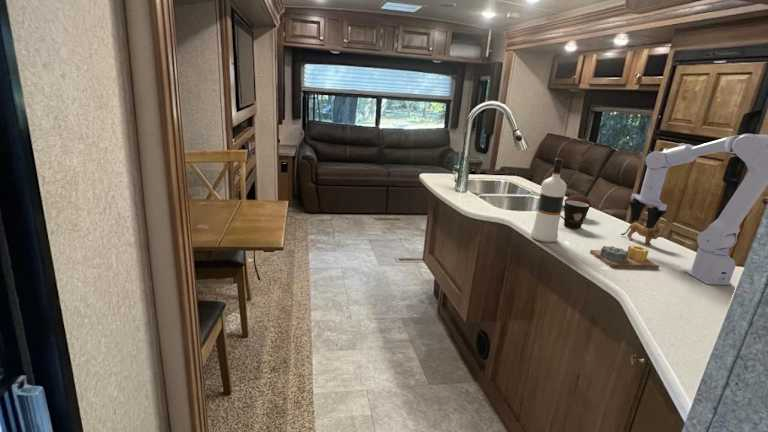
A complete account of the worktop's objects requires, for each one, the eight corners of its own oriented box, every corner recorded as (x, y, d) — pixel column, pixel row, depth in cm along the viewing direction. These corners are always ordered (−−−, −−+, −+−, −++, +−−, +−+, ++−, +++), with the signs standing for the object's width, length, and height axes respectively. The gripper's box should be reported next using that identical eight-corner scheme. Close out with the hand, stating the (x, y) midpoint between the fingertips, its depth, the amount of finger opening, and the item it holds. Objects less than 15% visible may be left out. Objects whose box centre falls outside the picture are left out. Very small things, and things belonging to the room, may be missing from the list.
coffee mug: (584, 226, 169) (589, 203, 166) (581, 231, 162) (587, 207, 159) (555, 220, 175) (560, 198, 172) (551, 225, 168) (556, 202, 165)
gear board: (658, 269, 129) (661, 257, 128) (611, 267, 127) (614, 255, 126) (633, 254, 141) (636, 243, 139) (589, 253, 139) (592, 241, 138)
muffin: (581, 222, 175) (586, 200, 172) (556, 215, 183) (561, 194, 180) (592, 218, 183) (597, 196, 180) (568, 211, 191) (572, 191, 188)
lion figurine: (663, 247, 150) (670, 224, 148) (657, 249, 147) (664, 226, 145) (623, 235, 162) (629, 213, 159) (616, 236, 159) (622, 215, 156)
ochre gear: (649, 260, 133) (652, 250, 132) (639, 262, 130) (642, 252, 129) (632, 253, 138) (635, 244, 137) (623, 256, 135) (625, 246, 134)
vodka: (525, 235, 153) (539, 156, 144) (545, 233, 156) (560, 156, 147) (541, 243, 145) (558, 160, 136) (562, 242, 148) (579, 161, 139)
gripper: (679, 192, 131) (668, 231, 135) (648, 182, 145) (638, 218, 149) (659, 191, 131) (648, 230, 135) (629, 181, 144) (620, 217, 148)
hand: (641, 224), depth 142 cm, fingers open, 7 cm apart
